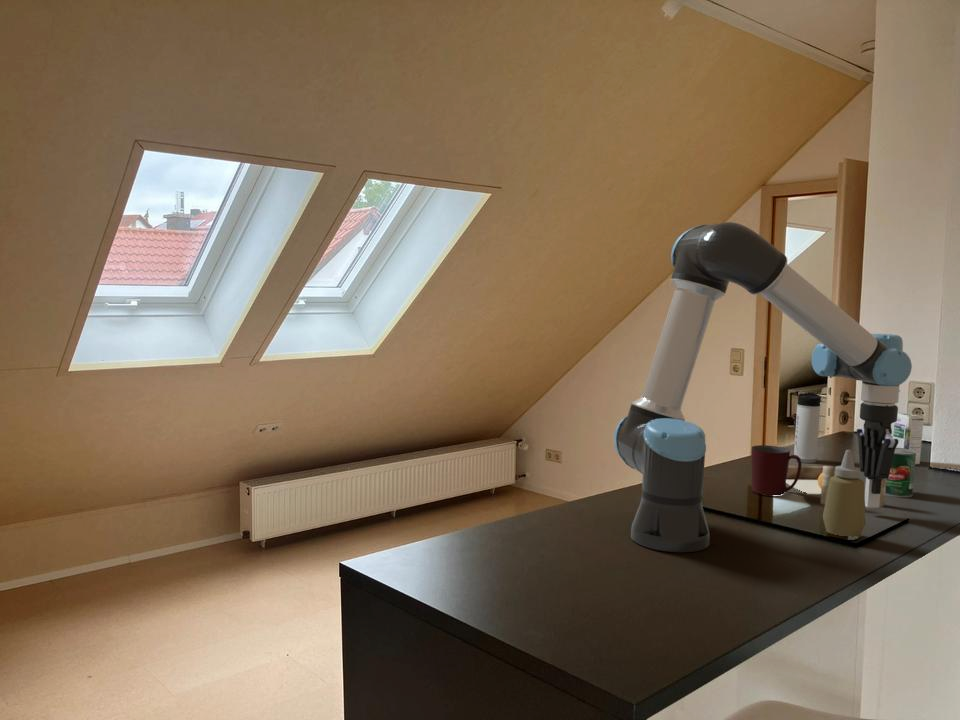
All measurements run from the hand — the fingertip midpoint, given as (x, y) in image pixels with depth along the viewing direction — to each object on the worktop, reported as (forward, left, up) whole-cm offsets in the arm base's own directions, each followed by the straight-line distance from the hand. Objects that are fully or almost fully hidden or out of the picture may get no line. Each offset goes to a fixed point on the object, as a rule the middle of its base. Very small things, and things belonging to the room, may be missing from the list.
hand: (871, 506), depth 180 cm
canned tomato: (+17, +19, -2) cm, 26 cm away
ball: (0, +19, +1) cm, 19 cm away
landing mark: (0, +24, -2) cm, 24 cm away
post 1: (-6, +8, -2) cm, 10 cm away
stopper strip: (0, +34, -2) cm, 34 cm away
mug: (-15, +17, -2) cm, 23 cm away
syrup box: (+41, +54, -2) cm, 68 cm away
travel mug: (+11, +55, -2) cm, 56 cm away
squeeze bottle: (-15, -16, -2) cm, 22 cm away
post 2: (+6, +8, -2) cm, 10 cm away
